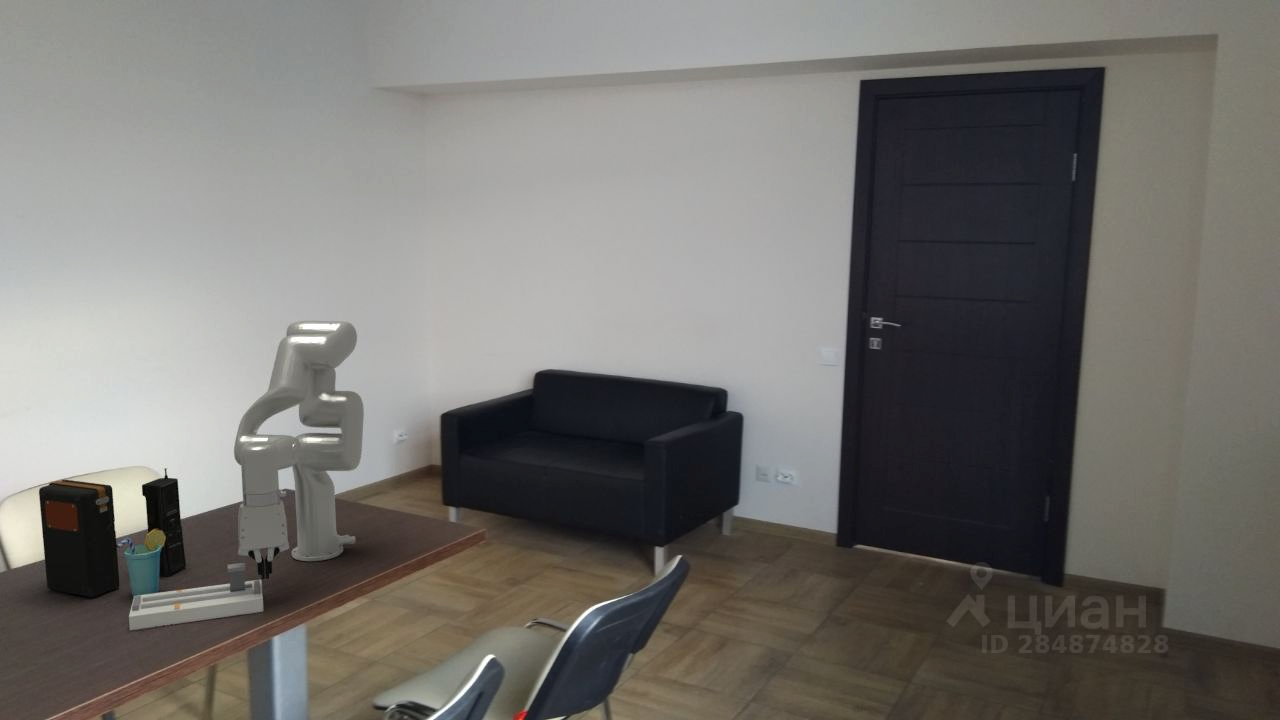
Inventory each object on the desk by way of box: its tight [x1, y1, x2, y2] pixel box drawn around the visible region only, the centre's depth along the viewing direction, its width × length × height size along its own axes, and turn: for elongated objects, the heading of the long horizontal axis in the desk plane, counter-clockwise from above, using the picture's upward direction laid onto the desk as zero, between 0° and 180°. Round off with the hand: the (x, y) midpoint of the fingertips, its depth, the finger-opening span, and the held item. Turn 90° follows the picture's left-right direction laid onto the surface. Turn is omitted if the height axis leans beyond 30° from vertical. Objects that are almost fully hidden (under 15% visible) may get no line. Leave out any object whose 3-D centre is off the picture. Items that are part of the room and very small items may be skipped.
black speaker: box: [38, 479, 121, 598], centre depth 218 cm, size 16×9×25 cm, turn 71°
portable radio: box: [141, 468, 187, 577], centre depth 229 cm, size 8×6×25 cm
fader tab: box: [227, 562, 246, 592], centre depth 211 cm, size 4×3×6 cm
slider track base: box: [128, 579, 264, 631], centre depth 209 cm, size 26×12×4 cm, turn 113°
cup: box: [116, 529, 166, 598], centre depth 216 cm, size 14×8×15 cm, turn 171°
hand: (265, 577), depth 213 cm, fingers closed
